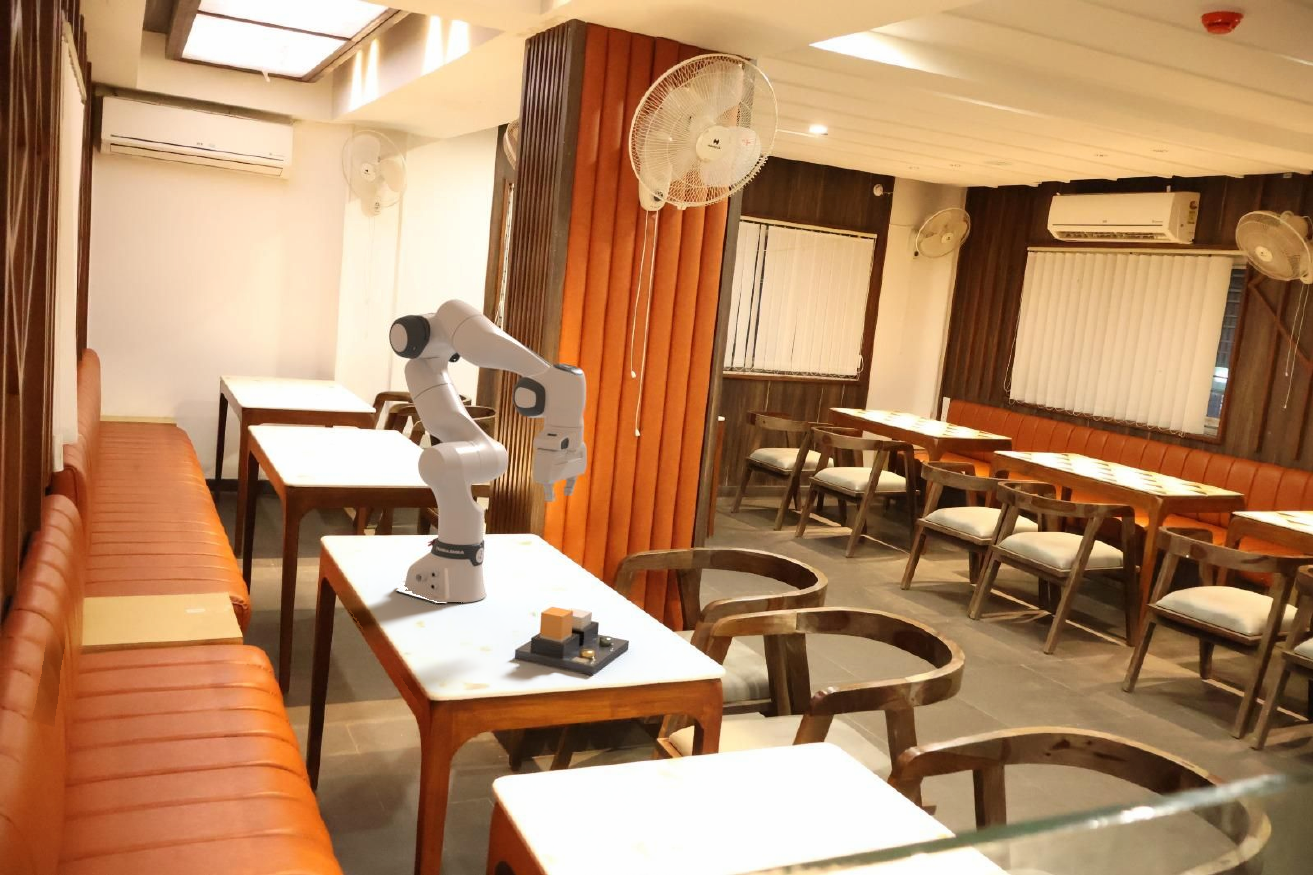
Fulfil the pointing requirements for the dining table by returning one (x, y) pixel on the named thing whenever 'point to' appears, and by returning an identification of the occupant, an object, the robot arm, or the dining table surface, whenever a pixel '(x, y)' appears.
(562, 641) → the block
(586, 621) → the block
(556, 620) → the block
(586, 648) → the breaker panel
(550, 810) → the dining table surface
